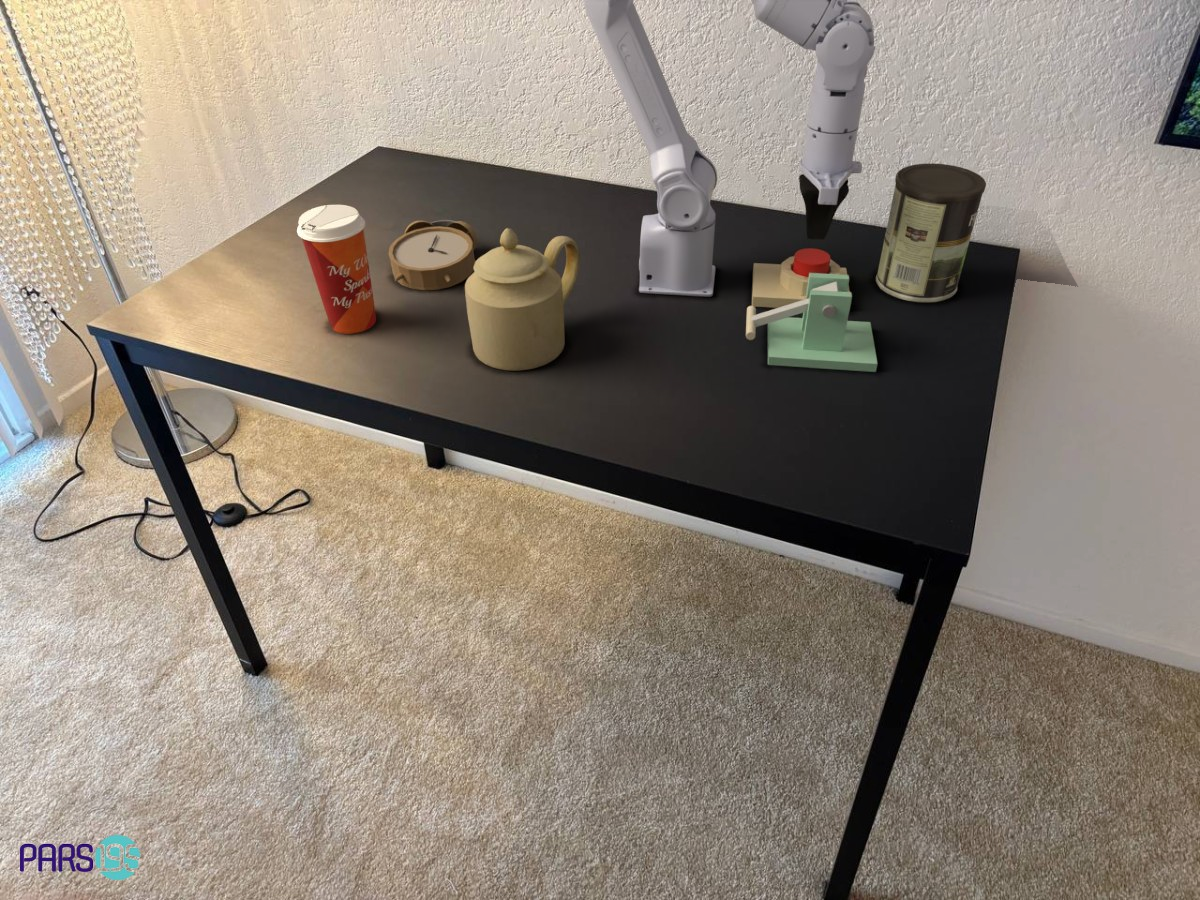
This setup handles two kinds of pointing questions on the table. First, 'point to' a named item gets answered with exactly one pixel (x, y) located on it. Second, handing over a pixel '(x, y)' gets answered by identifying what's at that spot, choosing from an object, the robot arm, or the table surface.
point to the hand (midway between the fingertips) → (815, 236)
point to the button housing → (782, 283)
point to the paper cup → (340, 265)
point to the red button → (811, 262)
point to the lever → (780, 312)
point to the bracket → (823, 332)
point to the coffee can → (929, 231)
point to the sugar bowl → (520, 303)
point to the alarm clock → (433, 254)
